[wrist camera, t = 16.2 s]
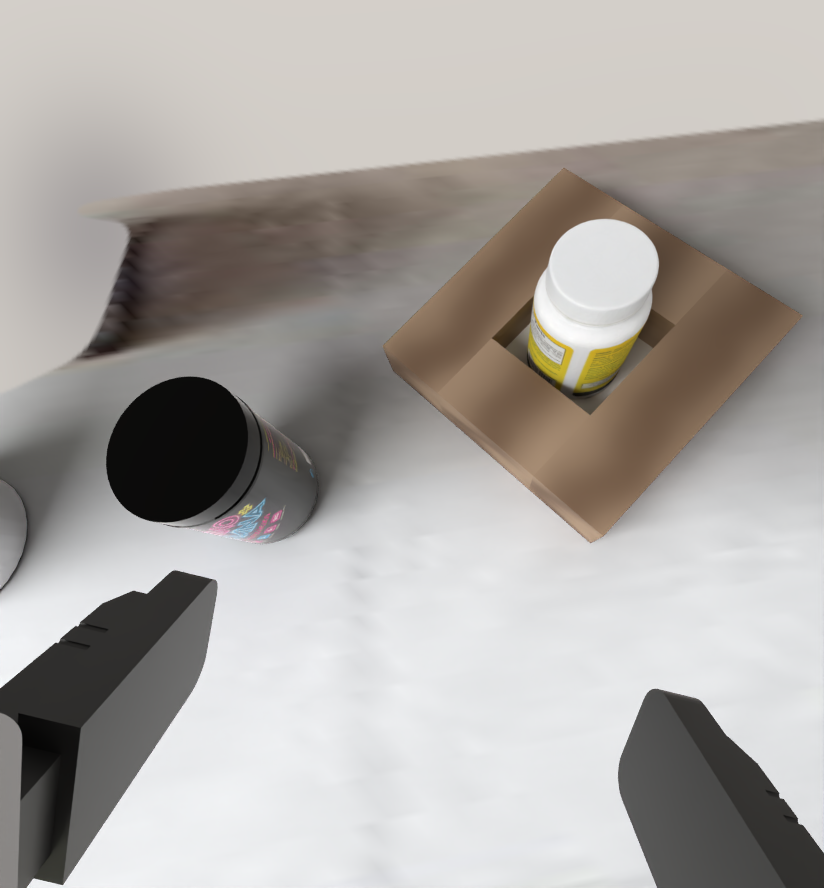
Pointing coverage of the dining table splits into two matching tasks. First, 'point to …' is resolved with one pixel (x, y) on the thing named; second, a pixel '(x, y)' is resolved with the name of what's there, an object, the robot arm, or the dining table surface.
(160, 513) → the supplement container
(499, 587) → the dining table surface
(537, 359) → the supplement bottle
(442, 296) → the walnut pocket block
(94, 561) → the dining table surface
